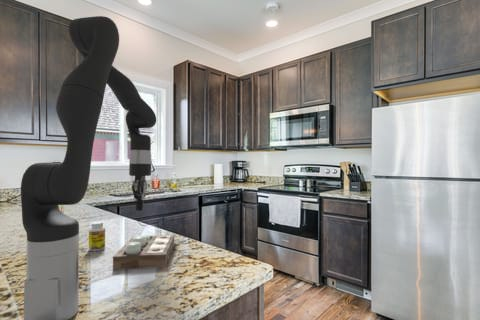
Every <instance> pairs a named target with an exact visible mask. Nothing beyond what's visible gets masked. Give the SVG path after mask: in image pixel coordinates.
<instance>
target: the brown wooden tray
mask: <svg viewBox="0 0 480 320" xmlns="http://www.w3.org/2000/svg"><path fill="white" fill-rule="evenodd" d="M136 236H137V235H136ZM136 236H135V235H133V236H132V237H131V238H130V239H129V240H128V241H127V242H126V243H125V244H124V245H123V246H122V247H121V248H120V249H119V250H118V251H117V252H116V253H115V254H114V255H113V256H112V270H113V271H114V270H132V269H134V270H135V269H152V268H166V267H167V264H168V262H169V260H170V257H171V255H172V252H173V251H174V250H173V249H174V247H175V235H174V234H166V235H165V234H164V235H161V234H160V235H149V236H150V241H146V246H145V247H141V253H140V254H132V255H126V244H128V243H131V242H132V238H133V237H136Z"/></svg>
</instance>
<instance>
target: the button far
mask: <svg viewBox="0 0 480 320" xmlns="http://www.w3.org/2000/svg"><path fill="white" fill-rule="evenodd" d="M141 236H145V237H146V241H150V236H151V235H148V234H143V235H141Z"/></svg>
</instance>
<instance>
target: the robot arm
mask: <svg viewBox="0 0 480 320" xmlns="http://www.w3.org/2000/svg"><path fill="white" fill-rule="evenodd" d="M68 34H69V38H70V40H71V42H72V43H73V46H74V47H75V48H76V50H77V51H78V52H79V54H81V56H82V57H83V58H84V59H83V60H82V61H81V62H80V63H79V64H78V65H77V66H76V67H74V69H73V70H72V71H70V73H69V74H68V75H67V76H66V78H64V81H63V82H62V84H61V87H60V90H59V93H58V95H57V99H56V103H55V104H56V105H55V111H56V114H57V117H58V120H59V122H60V124H61V127H62V129H63V130H64V133H65V136H66V141H67V145H66V151H65V155H64V159H63V162H36V163H33V164H31V165H29V166H28V167H27V168H26V170H25V171H24V172H23V174H22V178H21V182H20V203H21V221H22V222H21V223H22V226H23V228H24V231H25V233H26V281H24V284H23V287H24V288H23V320H70V319H71V318H73V317H75V315H77V314H78V312H79V298H80V297H79V287H80V285H79V283H80V282H79V275H80V271H79V270H80V268H79V267H80V264H79V263H80V260H79V259H80V258H79V257H80V247H79V246H80V224H79V221H78V220H76V219H75V218H73V217H70V216H68V215H66V214H65V213H63V212H62V210H60V208H59V206H70V205H76V204H78V203H80V202H81V201H82V200H83V199H84V197H85V196H86V193H87V190H88V186H89V182H90V181H89V180H90V173H91V166H92V158H93V157H92V156H93V148H94V142H95V136H96V133H97V127H98V123H99V118H100V115H101V112H102V106H103V103H104V97H105V91H106V87H107V86H108V87H109V88H110V90H111V91H112V93H113V94H114V96H115V97H116V99H117V101H118V102H119V104H120V105H121V107H122V108H123V109H124V110H125V111H127V113H126V114H125V124H126V127H127V130H128V134H129V139H130V150H129V160H128V161H129V164H128V165H129V169H128V175H129V176H130V177H134V181H133V182H132V186H131V190H132V194H133V198H134V200H135V201H136V202H135V210H136V211H138V212H139V211H143V210H144V200H145V198H146V195H147V188H148V181H147V180H146V177H147V176H149V177H150V176H151V175H152V153H151V152H152V150H151V149H152V145H151V143H152V142H151V141H152V140H151V136H150V135H148V134H143V133H141V131H140V129H151V128H153V127H155V126H156V123H157V115H156V113H155V111H154V110H153V109H152V107H151V106H150V105H149V104H148V103H147V102H146V101H145V100H144V99H143V98H142V97H141V95H140V93H139V92H138V90H137V87H136V86H135V84H134V83H133V81H132V80H131V79H130V78H129V77H128V76H127V75H125V74H124V73H123V72H121V71H120V70H119V69H117V67H115V66H114V65H113V63H114V61H115V58H116V56H117V53H118V49H119V46H120V33H119V29H118V26H117V23H115V22H114V20H112V19H111V18H109V17H108V16H103V15H96V16H89V17H88V16H87V17H79V18H74V19H72V20H71V21H70V23H69V25H68Z"/></svg>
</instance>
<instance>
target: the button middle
mask: <svg viewBox="0 0 480 320" xmlns="http://www.w3.org/2000/svg"><path fill="white" fill-rule="evenodd" d="M132 237H133V236H132ZM132 237H131V238H132ZM132 242H140V243H141V247H145V246H146V237H145V236H142V235H139V236H137V235H136V237H133V238H132Z"/></svg>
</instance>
